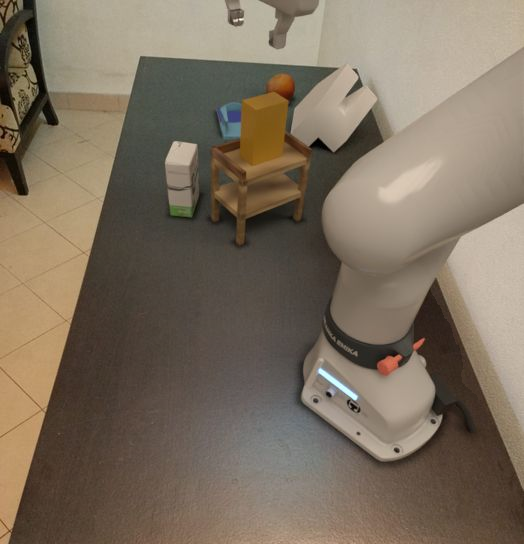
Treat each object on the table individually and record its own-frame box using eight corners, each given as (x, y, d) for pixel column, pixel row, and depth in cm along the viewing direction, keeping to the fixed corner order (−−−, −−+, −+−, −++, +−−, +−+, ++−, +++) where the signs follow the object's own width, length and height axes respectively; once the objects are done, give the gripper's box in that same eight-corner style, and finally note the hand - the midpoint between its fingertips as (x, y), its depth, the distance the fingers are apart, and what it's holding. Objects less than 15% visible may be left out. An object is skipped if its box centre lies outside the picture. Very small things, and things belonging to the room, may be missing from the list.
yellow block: (282, 156, 87) (288, 100, 80) (252, 166, 84) (255, 109, 77) (269, 146, 89) (274, 91, 81) (239, 156, 86) (241, 99, 78)
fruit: (301, 103, 130) (289, 75, 124) (275, 116, 133) (262, 89, 127) (300, 91, 135) (288, 63, 129) (275, 103, 138) (263, 77, 132)
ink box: (192, 218, 96) (190, 165, 87) (169, 215, 96) (163, 162, 87) (199, 195, 102) (198, 142, 93) (177, 192, 102) (173, 139, 93)
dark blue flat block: (254, 129, 119) (247, 107, 126) (222, 129, 117) (216, 107, 125) (254, 135, 120) (246, 112, 127) (222, 135, 118) (216, 113, 126)
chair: (221, 168, 109) (221, 116, 100) (216, 150, 114) (216, 98, 105) (253, 167, 110) (257, 115, 101) (247, 149, 115) (250, 98, 106)
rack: (301, 219, 99) (312, 149, 87) (239, 245, 92) (242, 172, 80) (271, 196, 103) (279, 126, 91) (211, 219, 97) (210, 146, 85)
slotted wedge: (321, 163, 120) (378, 111, 109) (290, 133, 115) (346, 76, 104) (323, 137, 129) (376, 86, 117) (294, 108, 124) (346, 52, 112)
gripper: (344, -87, 50) (323, 57, 61) (233, -119, 60) (232, 10, 70) (299, -85, 47) (285, 66, 58) (191, -119, 57) (196, 16, 68)
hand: (255, 35), depth 64 cm, fingers open, 8 cm apart
